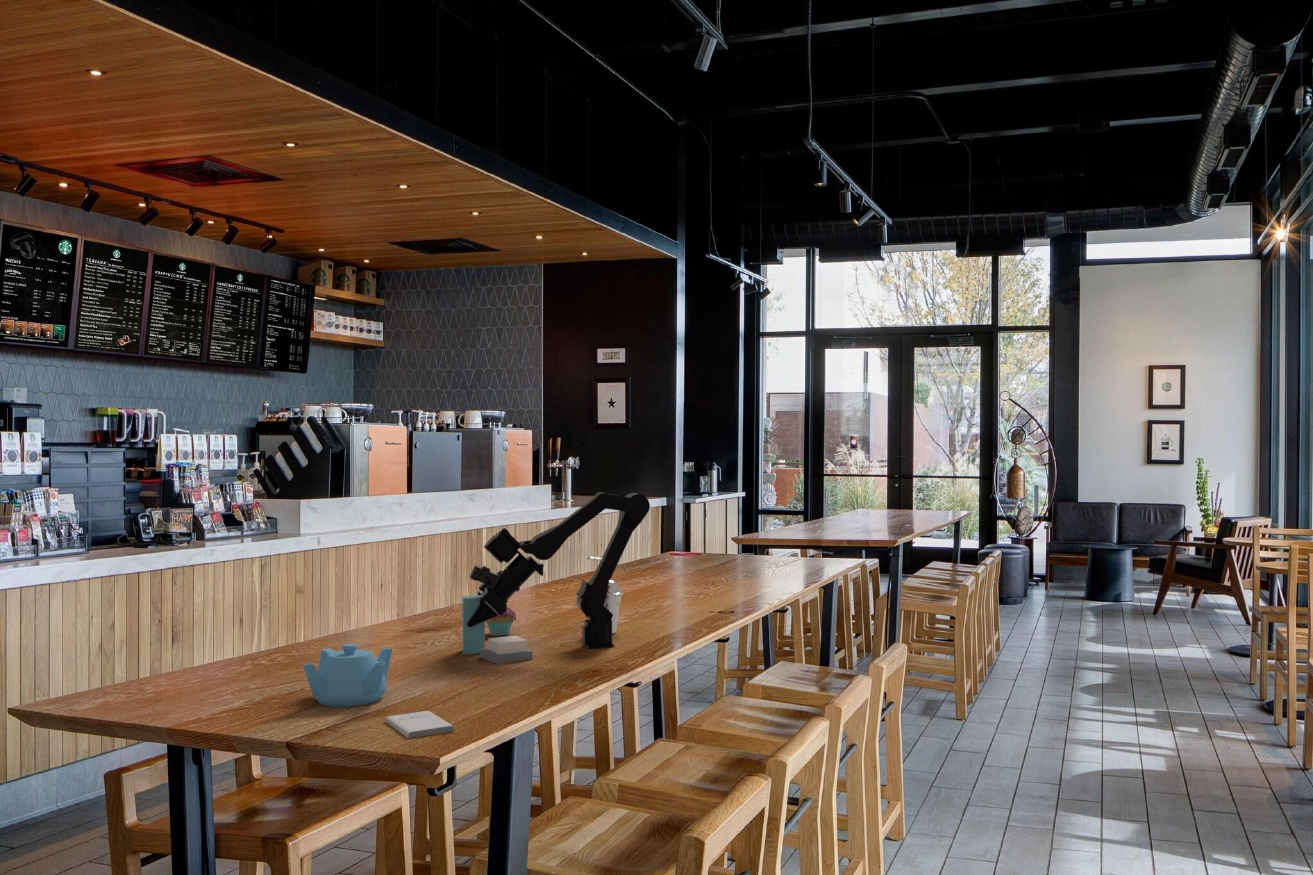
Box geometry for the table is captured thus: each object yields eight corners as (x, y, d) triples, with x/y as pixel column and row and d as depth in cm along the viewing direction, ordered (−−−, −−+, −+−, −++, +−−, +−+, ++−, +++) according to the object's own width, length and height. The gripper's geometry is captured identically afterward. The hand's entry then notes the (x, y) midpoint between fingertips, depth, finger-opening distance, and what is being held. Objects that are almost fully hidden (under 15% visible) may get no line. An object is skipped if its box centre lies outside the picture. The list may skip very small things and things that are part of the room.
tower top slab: (515, 646, 251) (515, 635, 251) (527, 651, 245) (527, 640, 245) (487, 649, 248) (487, 638, 248) (499, 654, 241) (499, 643, 241)
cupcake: (499, 638, 271) (499, 591, 271) (476, 634, 276) (476, 588, 276) (523, 633, 278) (522, 587, 278) (500, 629, 283) (499, 584, 283)
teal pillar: (483, 648, 257) (483, 595, 257) (484, 653, 252) (484, 598, 252) (462, 649, 256) (462, 595, 256) (463, 654, 251) (463, 599, 251)
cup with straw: (620, 635, 274) (620, 557, 274) (586, 634, 275) (586, 557, 275) (626, 629, 282) (626, 554, 282) (593, 628, 284) (593, 553, 284)
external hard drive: (408, 741, 180) (385, 724, 191) (454, 734, 185) (429, 718, 195) (408, 732, 180) (385, 715, 191) (454, 725, 185) (429, 709, 195)
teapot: (396, 689, 216) (396, 636, 216) (385, 708, 201) (385, 651, 201) (318, 691, 214) (318, 638, 214) (302, 710, 199) (301, 653, 199)
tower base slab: (514, 655, 252) (514, 645, 252) (532, 662, 245) (532, 651, 245) (480, 660, 247) (480, 649, 247) (497, 666, 240) (497, 655, 240)
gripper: (487, 549, 264) (442, 595, 261) (492, 557, 246) (443, 606, 243) (519, 580, 266) (474, 626, 263) (526, 590, 247) (478, 639, 245)
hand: (467, 623), depth 254 cm, fingers closed on teal pillar, 5 cm apart
